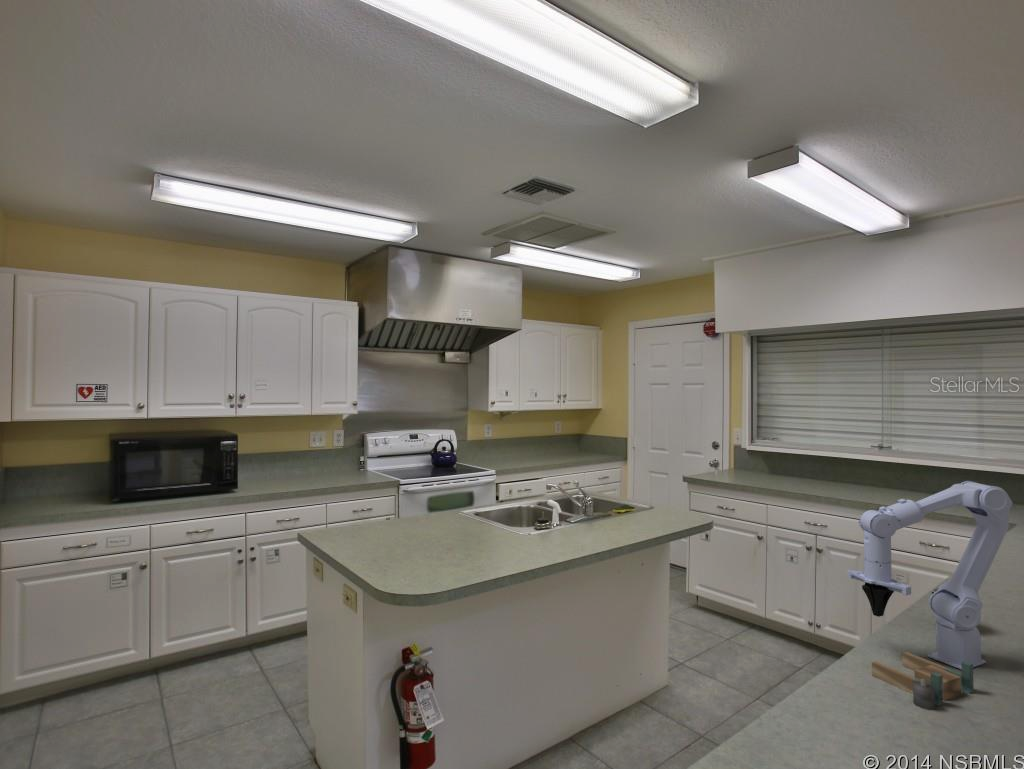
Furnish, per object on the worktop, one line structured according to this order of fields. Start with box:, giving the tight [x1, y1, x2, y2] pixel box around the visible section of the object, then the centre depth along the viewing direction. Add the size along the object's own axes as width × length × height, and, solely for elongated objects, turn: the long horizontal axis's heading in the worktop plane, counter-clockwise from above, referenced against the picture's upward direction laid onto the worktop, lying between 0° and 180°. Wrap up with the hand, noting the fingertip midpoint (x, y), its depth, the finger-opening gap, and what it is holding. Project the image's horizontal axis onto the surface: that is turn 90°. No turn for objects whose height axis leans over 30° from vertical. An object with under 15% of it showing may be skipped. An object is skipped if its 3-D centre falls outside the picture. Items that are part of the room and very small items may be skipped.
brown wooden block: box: [913, 665, 962, 702], centre depth 124 cm, size 6×6×4 cm
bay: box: [871, 651, 975, 710], centre depth 126 cm, size 17×14×6 cm
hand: (878, 615), depth 140 cm, fingers closed
